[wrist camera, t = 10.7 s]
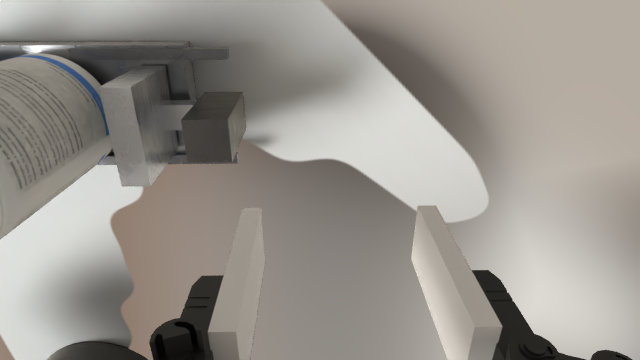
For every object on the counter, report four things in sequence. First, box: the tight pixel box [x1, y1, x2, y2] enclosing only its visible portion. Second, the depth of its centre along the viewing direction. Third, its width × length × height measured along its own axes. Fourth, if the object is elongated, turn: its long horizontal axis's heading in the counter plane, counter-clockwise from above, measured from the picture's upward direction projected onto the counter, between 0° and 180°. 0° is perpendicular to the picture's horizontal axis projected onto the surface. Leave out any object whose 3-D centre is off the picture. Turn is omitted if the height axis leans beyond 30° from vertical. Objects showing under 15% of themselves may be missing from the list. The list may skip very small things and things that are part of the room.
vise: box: [0, 41, 239, 165], centre depth 32 cm, size 10×24×9 cm, turn 90°
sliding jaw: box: [98, 66, 246, 186], centre depth 31 cm, size 7×8×8 cm
